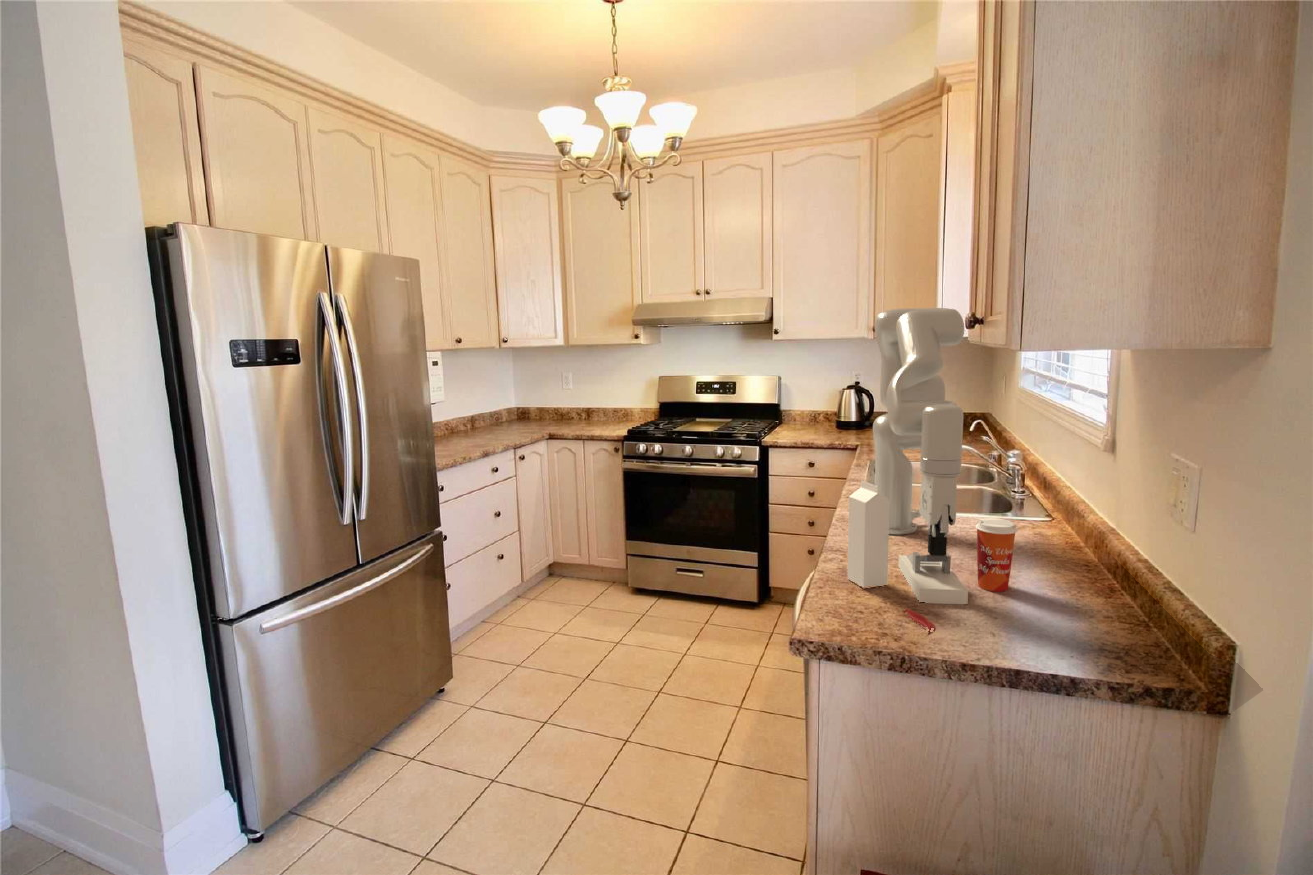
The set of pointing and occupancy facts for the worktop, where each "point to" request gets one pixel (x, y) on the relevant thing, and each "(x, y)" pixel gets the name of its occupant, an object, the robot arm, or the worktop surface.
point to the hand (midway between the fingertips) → (936, 554)
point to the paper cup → (994, 553)
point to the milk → (868, 536)
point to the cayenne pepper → (920, 619)
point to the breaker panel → (933, 580)
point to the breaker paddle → (933, 558)
